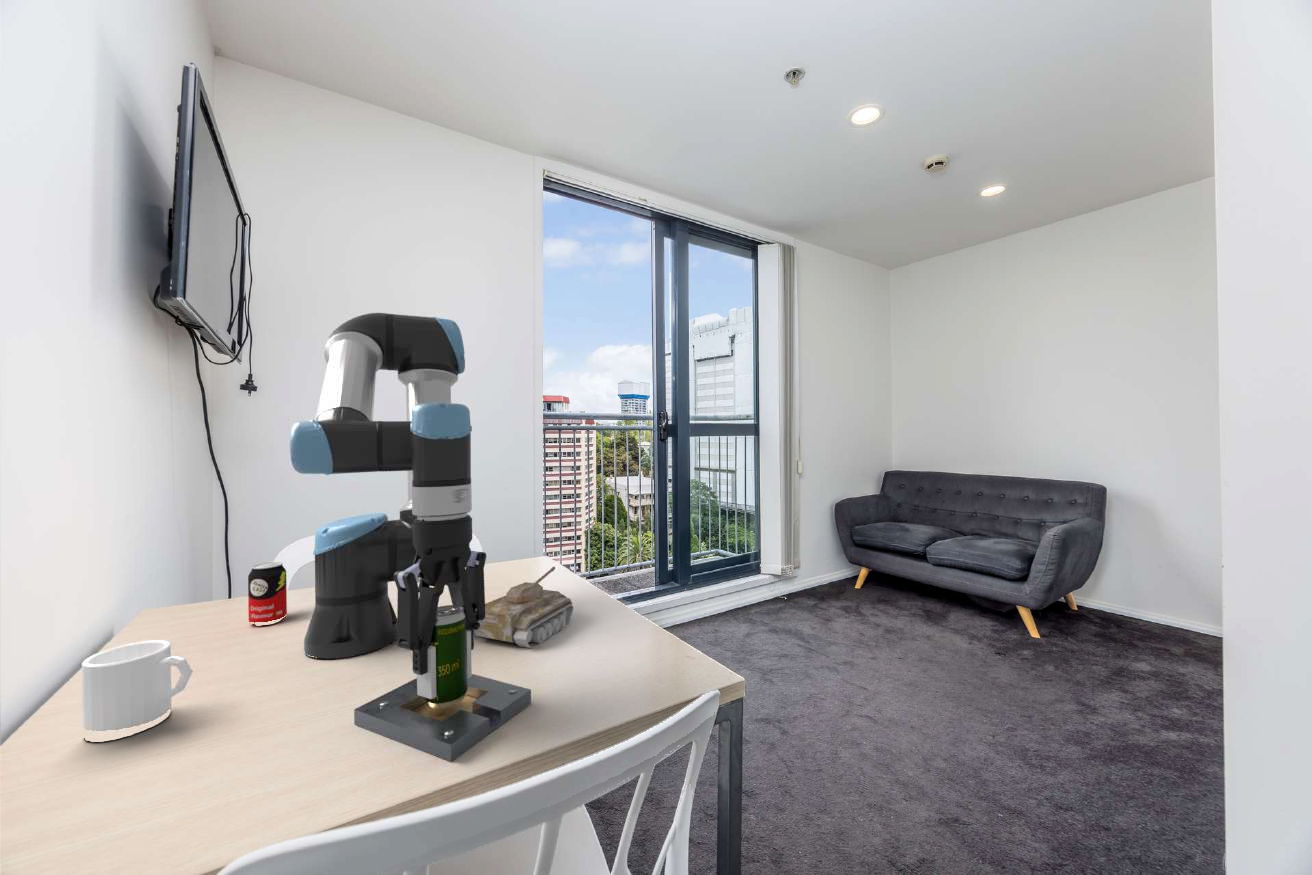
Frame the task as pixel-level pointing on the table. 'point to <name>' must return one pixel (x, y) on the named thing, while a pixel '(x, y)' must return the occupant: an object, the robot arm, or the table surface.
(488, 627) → the toy tank
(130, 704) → the mug
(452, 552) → the robot arm
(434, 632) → the beer can
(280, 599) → the beverage can
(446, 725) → the chassis plate
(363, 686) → the table surface
